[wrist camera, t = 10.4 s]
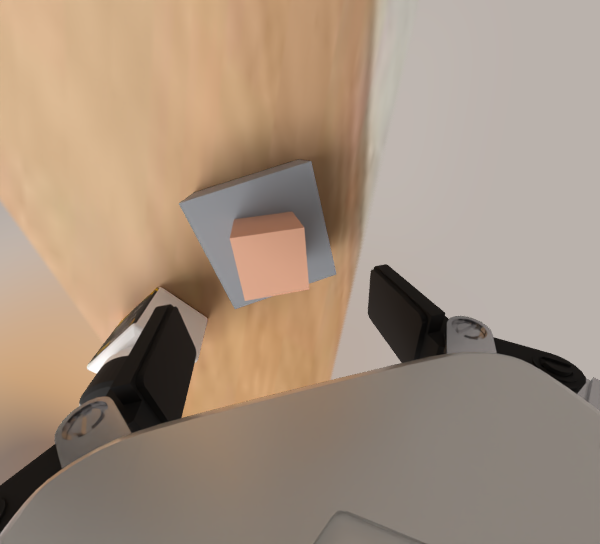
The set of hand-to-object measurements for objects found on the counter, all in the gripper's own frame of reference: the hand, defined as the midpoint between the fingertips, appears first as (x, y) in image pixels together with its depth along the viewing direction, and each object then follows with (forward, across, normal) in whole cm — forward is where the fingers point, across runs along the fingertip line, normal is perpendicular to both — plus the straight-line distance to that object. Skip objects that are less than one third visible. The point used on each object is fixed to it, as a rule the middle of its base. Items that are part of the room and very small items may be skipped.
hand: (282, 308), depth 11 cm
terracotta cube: (+11, 0, +1) cm, 11 cm away
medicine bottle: (+17, +14, +11) cm, 24 cm away
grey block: (+17, 0, +1) cm, 17 cm away
